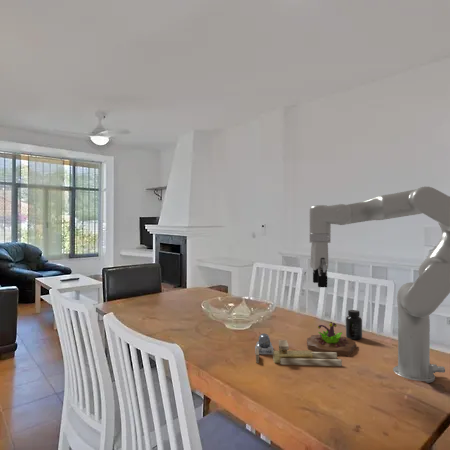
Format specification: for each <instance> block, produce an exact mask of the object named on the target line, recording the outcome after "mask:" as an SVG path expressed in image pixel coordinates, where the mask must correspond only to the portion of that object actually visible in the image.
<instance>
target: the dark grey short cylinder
mask: <svg viewBox="0 0 450 450" xmlns="http://www.w3.org/2000/svg"><path fill="white" fill-rule="evenodd" d="M258 341H259V345H260V347H262V348H268V347H269V346H270V342H271V340H270V335H268V334H267V333H260V335H259V336H258Z"/></svg>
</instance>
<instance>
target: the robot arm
mask: <svg viewBox="0 0 450 450" xmlns="http://www.w3.org/2000/svg"><path fill="white" fill-rule="evenodd" d="M421 214H424V215H425V216H426V217H429V218H430V219H432V220H434V221H436V222H437V223H438V225H439V226H440V228H441V238H440V239H439V241H438V242H437V244H436V246H435V247H434V248H433V250H432V251H431V252H430V253H429V254H428V256H427V257H426V258H425V259H424V261H423V262H422V263H421V264H420V265H419V268H418V275H419V276H418V278H417V279H416V280H415V281H414V282H413V281H412V282H411V281H410V282H406V283H404V284H402V285H401V286H400V287H399V289H398V291H397V293H396V294H397V296H396V297H397V299H396V301H397V319H398V320H397V323H398V324H397V327H398V328H397V341H398V342H397V352H398V353H397V365H395V366H394V367H393V368H392V371H393V372H394V373H395V374H396V375H398V376H400V377H402V378H404V379H407V380H412V381H417V382H425V383H427V384H430V383H433V382H434V381H435V380H436V377H435V374H436V373H445V372H446V368H445V367H444V366H439V365H437V364H436V363H435V364H432V363H430V362H431V361H430V360H431V359H430V357H431V354H430V353H431V352H430V347H431V346H430V344H431V341H430V340H431V339H430V338H431V337H430V336H431V334H430V331H431V330H430V329H431V327H430V326H431V325H430V324H431V323H430V322H431V321H430V319H431V318H430V315H431V314H432V313H434V312H435V311H436V310H437V309H438V308H439V306H440V305H441V304H442V303H443V302H444V301H445V299H446V298H447V297H448V296H449V295H450V195H447V194H446V193H444V192H442V191H440V190H438V189H437V188H434V187H430V186H422V187H421V186H420V187H419V188H417V189H411V190H405V191H399V192H395V193H390V194H389V193H388V194H383V195H379V196H375V197H373V198H371V199H368V200H364V201H359V202H353V203H350V204H349V203H348V204H343V203H339V204H332V205H324V204H320V205H319V204H318V205H312V206H310V207H309V243H311V246H310V263H309V264H310V268H312V283H314V284H317V287H318V288H328V269H329V244H330V243H332V242H331V238H332V237H331V232H332V231H331V228H332V227H331V225H338V226H345V225H351V224H357V223H364V222H371V221H386V220H390V219H396V218H403V217H409V216H415V215H421Z"/></svg>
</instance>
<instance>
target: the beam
mask: <svg viewBox="0 0 450 450" xmlns="http://www.w3.org/2000/svg"><path fill="white" fill-rule="evenodd" d="M289 349H290V346H289V343H288V340H287V339H278V351H290V350H289ZM311 352H312V354H313V359H306V358H280V363H279V364H280V365H290V366H291V365H292V366H293V365H294V366H327V367H328V366H329V367H330V366H331V367H342V366H343V361H342V359H341V358H340V359H338V355H337V353H336V352H315V351H311ZM255 363H257V364H259V363H260V354H259V349H256V354H255Z"/></svg>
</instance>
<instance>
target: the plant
mask: <svg viewBox="0 0 450 450" xmlns="http://www.w3.org/2000/svg"><path fill="white" fill-rule="evenodd" d="M328 326H329V328H328V327H327V326H326V325H323V324H318V325H317V329H321V328H324V329H326V331H325V330H322V332H321V331H318V334H314V335H313V334H311V335H310V336H309V337H307V338H306V347H307V348H306V349H307V351H311V352H336V353H337V356H343V357H349V356H351V355H352V354H353V352H354V350H356V349H357V347H358V346H357V344H356V341H355V340H353V339H350V338H347V337H346V336H342V334H343V331H342V332H337V333H336V332H335V330H334V329H335V328H336V327H337V324H336V323H335V322H332V321H330V322H329V324H328ZM334 327H335V328H334Z"/></svg>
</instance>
